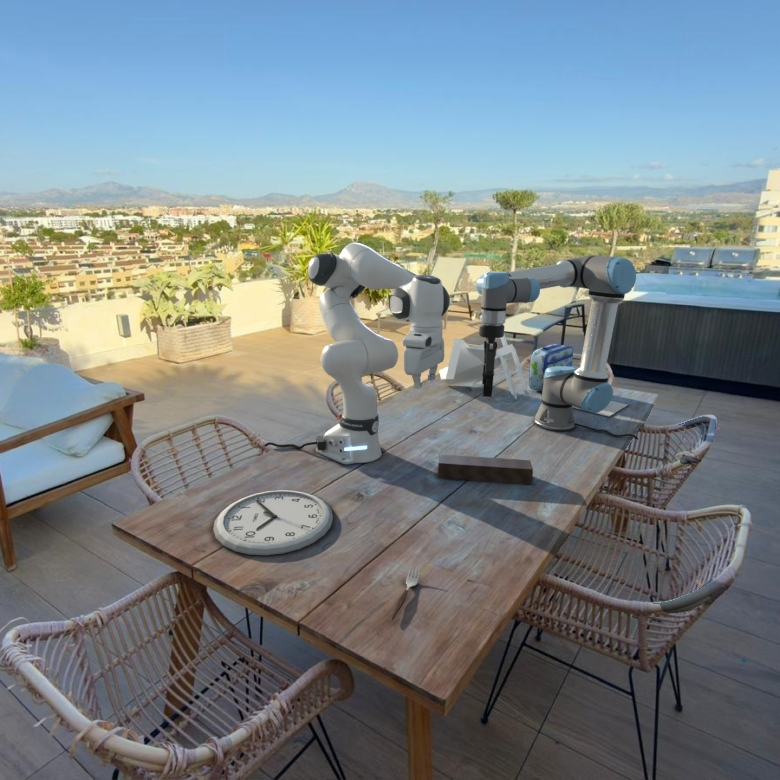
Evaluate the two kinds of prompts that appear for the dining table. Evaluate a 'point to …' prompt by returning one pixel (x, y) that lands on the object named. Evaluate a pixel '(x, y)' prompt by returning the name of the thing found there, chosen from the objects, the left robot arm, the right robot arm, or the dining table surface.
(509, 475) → the walnut beam
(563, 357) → the lunch box
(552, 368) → the right robot arm
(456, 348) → the white plastic object
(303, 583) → the dining table surface
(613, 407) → the invitation card
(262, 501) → the wall clock
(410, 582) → the fork
